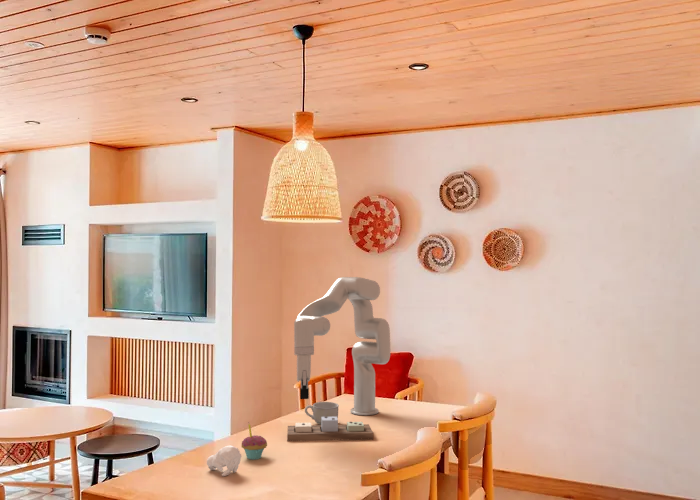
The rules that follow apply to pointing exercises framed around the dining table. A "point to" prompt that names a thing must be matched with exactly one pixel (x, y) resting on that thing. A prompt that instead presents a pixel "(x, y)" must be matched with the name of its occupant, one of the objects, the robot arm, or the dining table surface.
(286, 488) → the dining table surface
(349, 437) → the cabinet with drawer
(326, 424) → the white die
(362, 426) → the pale green block
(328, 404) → the teacup
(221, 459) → the white animal figurine
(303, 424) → the cream square block
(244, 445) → the cupcake
